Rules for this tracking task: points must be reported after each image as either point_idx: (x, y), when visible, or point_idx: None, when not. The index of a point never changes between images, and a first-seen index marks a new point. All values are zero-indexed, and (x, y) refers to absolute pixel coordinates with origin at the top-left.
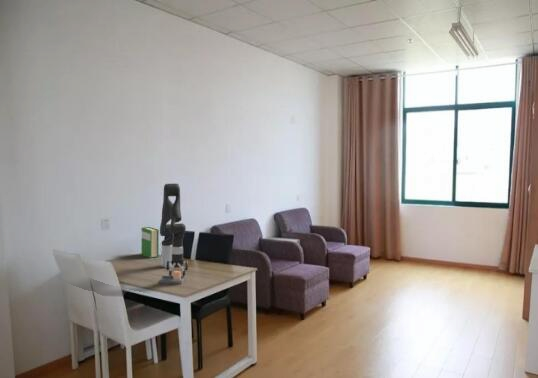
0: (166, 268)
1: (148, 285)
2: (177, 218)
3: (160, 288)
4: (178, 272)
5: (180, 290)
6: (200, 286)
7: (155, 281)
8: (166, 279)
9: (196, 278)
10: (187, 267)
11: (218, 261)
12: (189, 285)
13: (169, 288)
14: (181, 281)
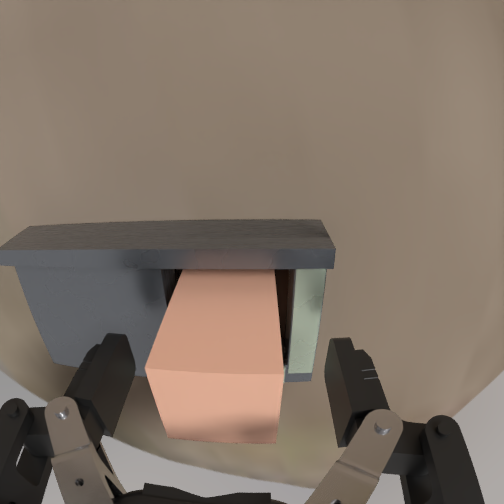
0: (30, 454)
1: (32, 378)
2: None
3: (151, 439)
4: (253, 431)
5: (313, 460)
6: (465, 379)
7: (4, 282)
8: (95, 336)
9: (472, 115)
10: (453, 458)
11: None
12: (387, 380)
13: (219, 443)
14: (306, 376)
